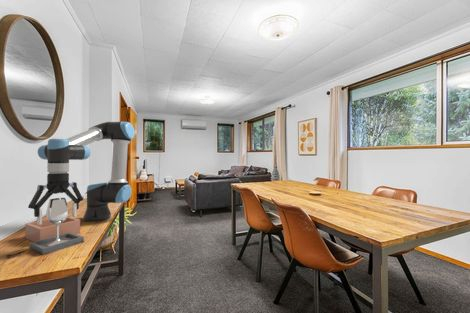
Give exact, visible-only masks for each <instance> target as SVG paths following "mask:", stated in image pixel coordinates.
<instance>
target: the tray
mask: <svg viewBox="0 0 470 313" xmlns="http://www.w3.org/2000/svg"><path fill="white" fill-rule="evenodd" d="M56 239H57V236H54V237H50V238H47V239H43V240H39V241H35V242H33V241H31V242H29V250H30V251H33V252H35V253H37V254H39V255H41V254H42V256H45V255H48V254H50V252H51V253H53V251H54V252H57V250H58V251H61V250H64V249H67V248H69V247H73V246H77V245H79V244H80V245H81V244H82V243H85V237H84V236H82V235H79V234H73V233H70V232H69V233H65V234H62V235H59V239H68V240H69V241H65V242H62V243H58V244H55V245H52V246H47V244H48V243H49V242H51V241H54V240H56ZM60 249H61V250H60ZM47 253H48V254H47ZM44 254H45V255H44Z"/></svg>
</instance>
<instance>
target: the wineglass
mask: <svg viewBox="0 0 470 313" xmlns="http://www.w3.org/2000/svg"><path fill="white" fill-rule="evenodd" d="M69 213H70V212H69V207H68V203H67V200H66V197H56V198H50V199H48V204H47V207H46V213H45V217H46V219H45V220H47V221H48V222H50V223H52V224H56V227H57V239H56V240H54V241H51V242H49V243H48V244H47V246H52V245H55V244H58V243H62V242H65V241H69V240H68V239H59V224H60V223H62V222H64V221H65V220H66V219H67V217H69Z"/></svg>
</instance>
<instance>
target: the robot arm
mask: <svg viewBox="0 0 470 313" xmlns="http://www.w3.org/2000/svg"><path fill="white" fill-rule="evenodd" d="M135 135H136V133H135V128H134V126H133V124H132V123H131V122H128V121H105V122H101V123H99V124H96V125H93V126H91V127H89V128H88V130H85V131H82V132H80V133H78V134H75V135H72V136H70V137H68V138H65V139H64V138H50V139H48V140H47V144H45V145H41V146H39V147H38V149H37V155H38V157H39V158H40V159H41V160H47V167H46V168H47V176H46V180H47V181H46V182H47V183H46V184H44V185H43V184H38V185H37V188H36V191H35V194H34V195H33V197H32V199H31V201H30V202H29V204H28V206H27V207H28V208H27V209H32V210H33V211H34V212H33V216H34V217H35V218H36V222H37V224H39V225H40V224H42V220H43V208H42V207H43V205H44V204H45V203H46V202H47V200H49V198H50V197H51V196H52V195H54V194H63V193H64V194H65V195H66V196H67V197H68V198H69V199H70V200H71V201H72V203H71V218H76V217H77V216H78V215H77V214H78V212H77V210H79V207H80V204H79V203H80V202H81V201H84V198H83V196H82V194H81V192H80V190H79V188H78V183H77V182H75V181H72V182H69V181H70V179H69V178H70V175H69V172H70V164H69V163H70V161H71V160H72V161H74V160H75V161H83V160H84V161H85V160H87V159H89V158H90V157H91V153H92V152H91V149H90V148H89V147H88V145H89V144H92V143H93V142H99V141H100V142H101V141H102V140H110V142H111V143H113V144H112V159H111V174H110V180H109V181H108V182H100V183H95V184H89V185H88V186H87V188H86V210H85V212H84V215H83V219H82V220H83V222H87V223H88V222H89V223H90V222H98V221H99V222H102V221H105V220H107V219H110V218H111V217H112V215H111V214H112V213H111V210H110V207H109V204H122V203H126V202H127V201H129V199H130V198H131V196H132V192H133V190H132V187H131V185H130V184H129V181H127V166H128V148H129V144H130V143H131V141H132V140H133V139H134V138H135ZM69 187H70V188H71V189H72V191H73V193H74V194H73V193H72V192H71V191H70V190H69ZM45 189H47V191H46V192H45V193H44V195H43V196H42V194H43V192H44V191H45ZM41 196H42V197H41Z"/></svg>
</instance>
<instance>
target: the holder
mask: <svg viewBox="0 0 470 313" xmlns="http://www.w3.org/2000/svg"><path fill="white" fill-rule="evenodd" d="M24 225H25V228H24V229H25V232H24V235H25V237H24V238H25V239H27V240H29V241H31V242H35V241H39V240H43V239H47V238H50V237H54V236H57V227H56V224H52V223H50V222H48V221H47V219H42V224H40V225H39V224H37V221H34V222H33V221H32V222H29V223H25V224H24ZM69 232H70V233H73V234H77V235H79V234H81V219H79V218H76V217H72V216H68V217H67V219H66V220H65V221H64V222H62V223H60V224H59V235H62V234H65V233H69Z"/></svg>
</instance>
